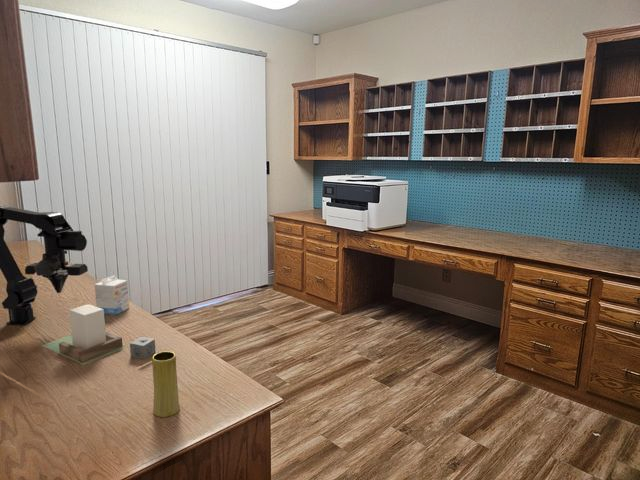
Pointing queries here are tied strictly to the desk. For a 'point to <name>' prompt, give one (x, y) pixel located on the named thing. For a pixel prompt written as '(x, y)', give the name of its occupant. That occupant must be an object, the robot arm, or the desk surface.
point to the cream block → (87, 326)
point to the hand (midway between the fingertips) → (59, 292)
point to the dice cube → (142, 347)
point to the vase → (165, 384)
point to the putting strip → (55, 344)
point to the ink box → (112, 295)
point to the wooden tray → (93, 352)
